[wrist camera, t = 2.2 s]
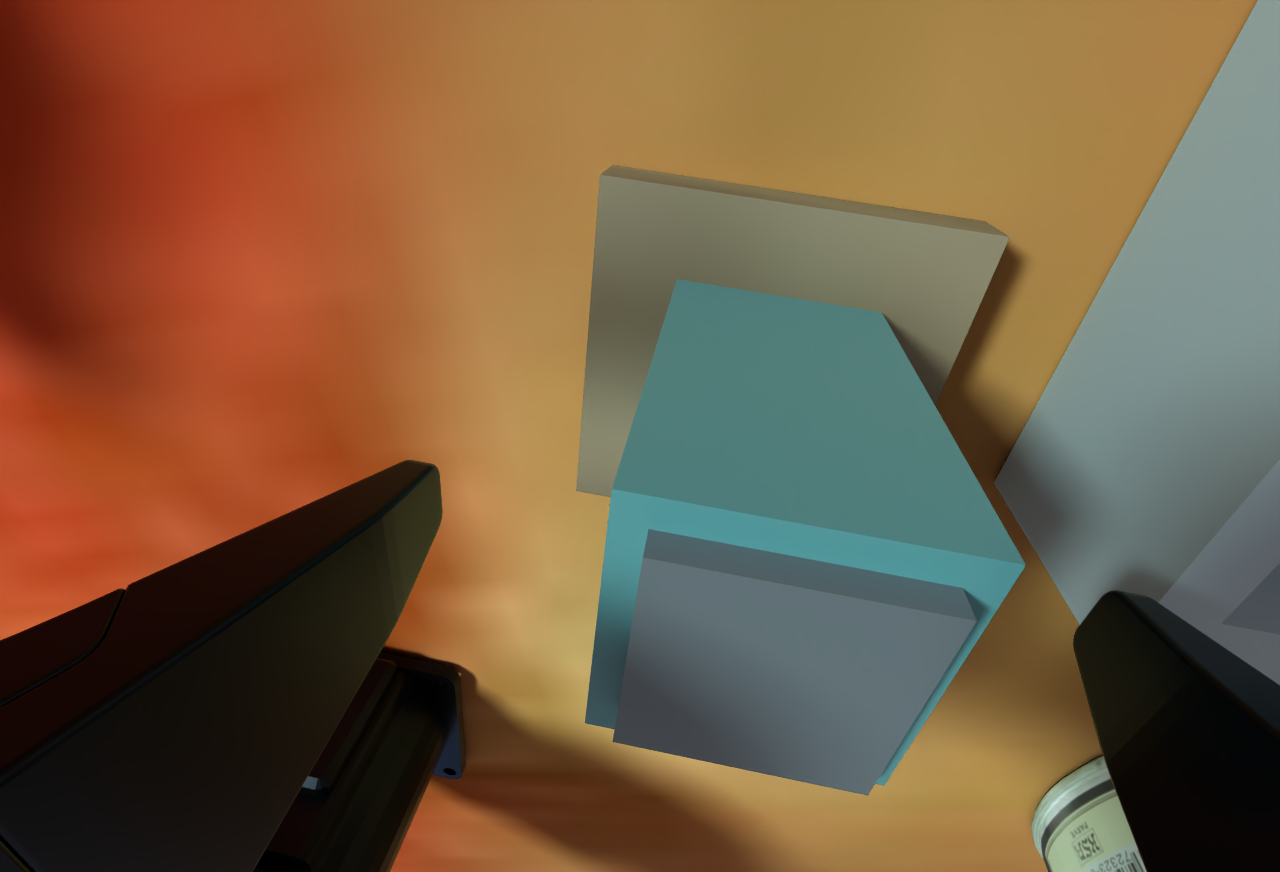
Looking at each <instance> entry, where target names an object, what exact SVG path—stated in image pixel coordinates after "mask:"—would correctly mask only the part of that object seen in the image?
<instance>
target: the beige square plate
mask: <svg viewBox="0 0 1280 872" xmlns="http://www.w3.org/2000/svg"><path fill="white" fill-rule="evenodd" d="M1009 238H1010V237H1009V236H1007V235H1006V234H1004V233H1003V232H1001V231H1000V230H998V229H996V228H995V227H993V226H992V225H990V224H988V223H987V222H985V221H979V220H972V219H966V218H959V217H952V216H946V215H939V214H932V213H926V212H919V211H912V210H906V209H899V208H893V207H886V206H879V205H873V204H866V203H859V202H853V201H846V200H840V199H833V198H826V197H820V196H813V195H806V194H800V193H793V192H787V191H780V190H773V189H767V188H760V187H753V186H747V185H740V184H733V183H727V182H720V181H714V180H707V179H700V178H694V177H687V176H680V175H674V174H667V173H661V172H654V171H647V170H641V169H634V168H627V167H621V166H614V165H612V166H611V167H610V168H608V169H607V170H606V171H604V172H603V173H602V174H600V182H599V195H598V208H597V222H596V235H595V248H594V262H593V275H592V288H591V302H590V315H589V329H588V342H587V355H586V369H585V382H584V395H583V409H582V422H581V435H580V449H579V462H578V475H577V489H576V491H580V492H585V493H591V494H596V495H602V496H607V497H611V493H612V487H613V484H614V481H615V477H616V474H617V471H618V468H619V465H620V461H621V458H622V455H623V452H624V448H625V445H626V442H627V439H628V435H629V432H630V429H631V426H632V423H633V419H634V416H635V413H636V410H637V406H638V403H639V400H640V397H641V393H642V390H643V387H644V384H645V381H646V377H647V374H648V371H649V368H650V364H651V361H652V358H653V355H654V351H655V348H656V345H657V342H658V338H659V335H660V332H661V329H662V326H663V322H664V319H665V316H666V313H667V309H668V306H669V303H670V300H671V296H672V293H673V290H674V287H675V284H676V280H677V279H679V280H686V281H692V282H698V283H704V284H710V285H717V286H723V287H729V288H735V289H741V290H747V291H754V292H760V293H766V294H772V295H778V296H785V297H791V298H797V299H803V300H809V301H816V302H822V303H828V304H834V305H840V306H847V307H853V308H859V309H865V310H871V311H877V312H882V314H883V316H884V317H885V319H886V321H887V323H888V324H889V326H890V328H891V330H892V331H893V333H894V335H895V337H896V338H897V340H898V342H899V344H900V345H901V347H902V349H903V351H904V352H905V354H906V356H907V358H908V359H909V361H910V363H911V365H912V366H913V368H914V370H915V372H916V373H917V375H918V377H919V379H920V380H921V382H922V384H923V386H924V387H925V389H926V391H927V393H928V394H929V396H930V398H931V400H932V401H933V403H934V405H936V403H937V401H938V398H939V396H940V394H941V392H942V389H943V387H944V385H945V383H946V380H947V378H948V376H949V374H950V371H951V369H952V367H953V364H954V362H955V360H956V358H957V355H958V353H959V351H960V349H961V346H962V344H963V342H964V340H965V337H966V335H967V333H968V331H969V328H970V326H971V324H972V322H973V319H974V317H975V315H976V312H977V310H978V308H979V306H980V303H981V301H982V299H983V297H984V294H985V292H986V290H987V288H988V285H989V283H990V281H991V279H992V276H993V274H994V272H995V269H996V267H997V265H998V263H999V260H1000V258H1001V256H1002V254H1003V251H1004V249H1005V247H1006V245H1007V242H1008V240H1009Z"/></svg>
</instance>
